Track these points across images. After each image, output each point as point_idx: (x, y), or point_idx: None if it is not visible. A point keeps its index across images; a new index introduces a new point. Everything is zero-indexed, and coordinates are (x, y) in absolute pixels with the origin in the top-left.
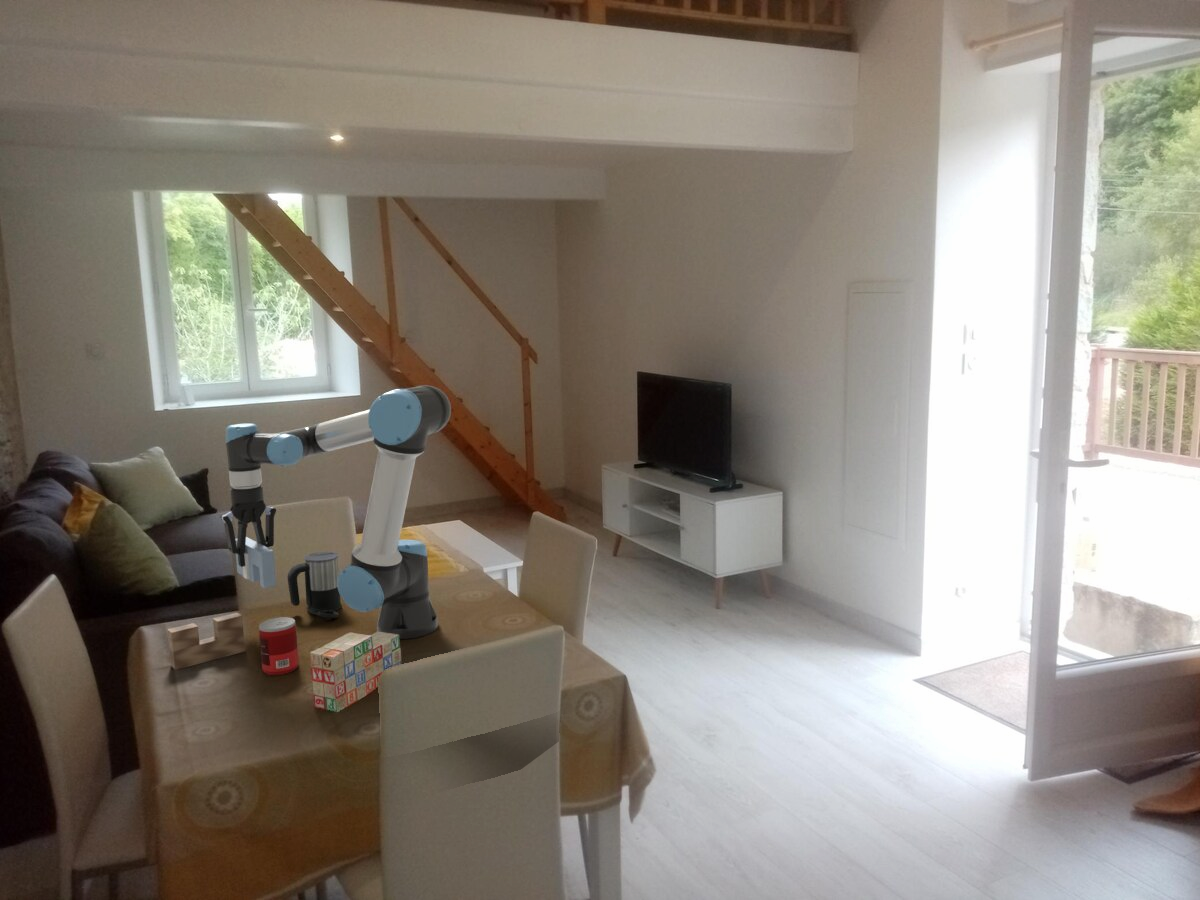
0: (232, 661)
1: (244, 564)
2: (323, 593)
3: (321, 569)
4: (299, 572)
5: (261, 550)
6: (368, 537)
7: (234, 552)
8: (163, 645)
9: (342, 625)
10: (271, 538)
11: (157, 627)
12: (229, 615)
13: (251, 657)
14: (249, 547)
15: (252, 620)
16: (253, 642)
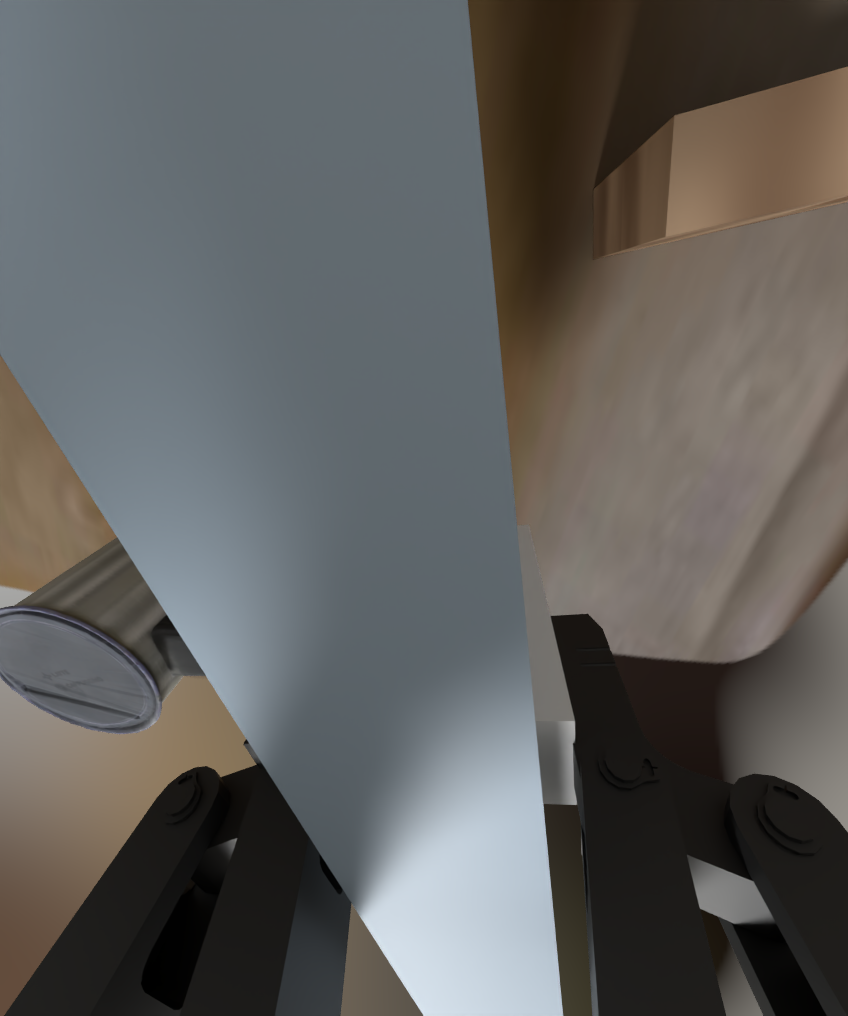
0: (705, 39)
1: (556, 629)
2: None
3: (100, 581)
4: None
5: (310, 266)
6: None
7: (784, 796)
8: (810, 487)
9: None
10: (109, 915)
11: (726, 650)
12: (745, 188)
13: (601, 48)
14: (541, 810)
15: None
16: (524, 304)
